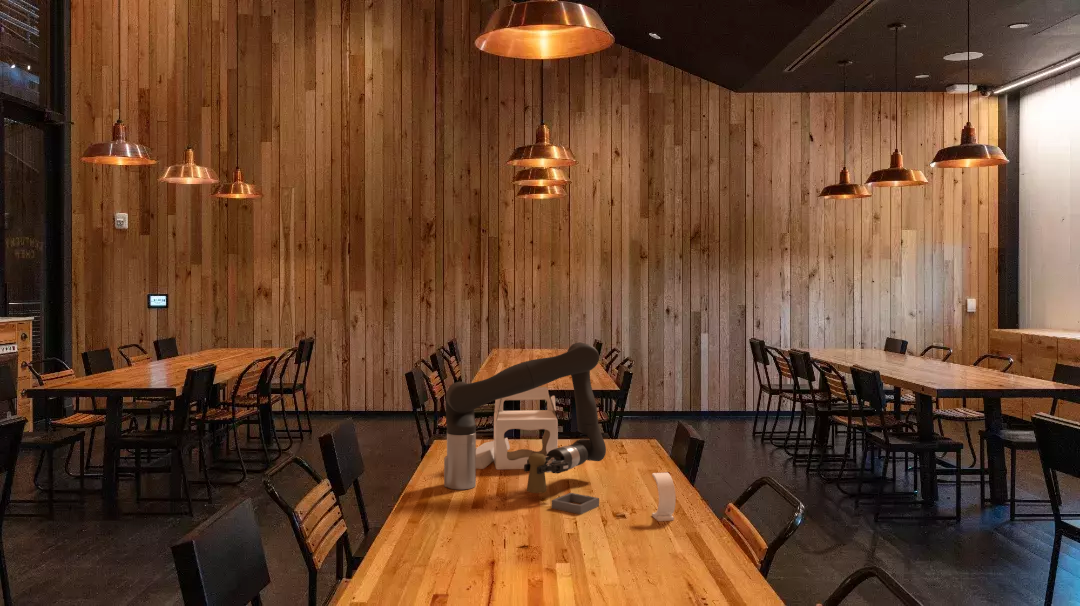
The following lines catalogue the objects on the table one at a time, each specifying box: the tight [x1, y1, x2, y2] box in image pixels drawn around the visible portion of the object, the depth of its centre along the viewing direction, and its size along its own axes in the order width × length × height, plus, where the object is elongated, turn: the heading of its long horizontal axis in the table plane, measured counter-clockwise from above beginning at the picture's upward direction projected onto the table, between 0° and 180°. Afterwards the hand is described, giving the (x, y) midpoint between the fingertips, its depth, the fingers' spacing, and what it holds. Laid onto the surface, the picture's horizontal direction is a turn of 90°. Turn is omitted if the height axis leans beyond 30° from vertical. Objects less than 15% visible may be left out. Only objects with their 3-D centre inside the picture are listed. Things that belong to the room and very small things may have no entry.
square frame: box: [551, 492, 600, 515], centre depth 215 cm, size 10×10×2 cm
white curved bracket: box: [651, 472, 677, 522], centre depth 205 cm, size 5×6×12 cm
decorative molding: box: [476, 437, 511, 470], centre depth 278 cm, size 34×5×10 cm
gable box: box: [493, 386, 559, 471], centre depth 267 cm, size 22×13×28 cm, turn 97°
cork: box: [526, 453, 547, 494], centre depth 223 cm, size 6×6×11 cm
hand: (531, 469), depth 220 cm, fingers closed on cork, 4 cm apart
